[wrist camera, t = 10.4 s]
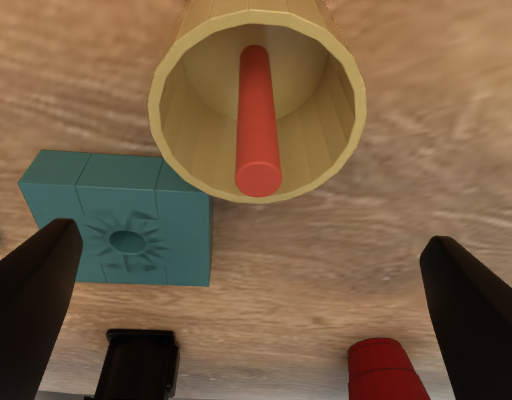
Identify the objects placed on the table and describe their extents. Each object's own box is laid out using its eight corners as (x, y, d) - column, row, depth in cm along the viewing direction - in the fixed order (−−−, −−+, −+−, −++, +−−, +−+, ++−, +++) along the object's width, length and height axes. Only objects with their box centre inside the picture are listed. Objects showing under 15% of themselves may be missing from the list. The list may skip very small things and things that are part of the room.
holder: (78, 247, 27) (63, 281, 25) (40, 149, 21) (17, 183, 19) (212, 253, 28) (209, 286, 26) (212, 159, 22) (209, 193, 20)
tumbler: (180, 118, 20) (159, 199, 15) (170, -46, 15) (132, -2, 10) (316, 127, 20) (337, 208, 16) (352, -28, 15) (399, 22, 11)
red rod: (239, 72, 18) (233, 197, 11) (240, 42, 17) (236, 160, 10) (267, 74, 18) (278, 200, 11) (270, 45, 17) (285, 163, 10)
